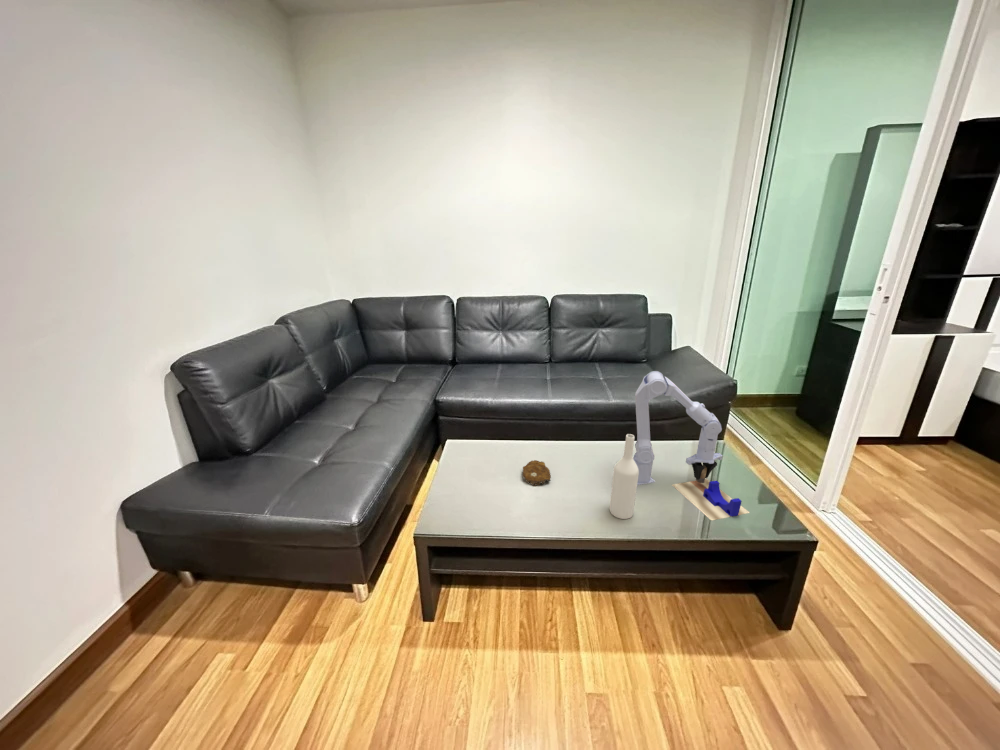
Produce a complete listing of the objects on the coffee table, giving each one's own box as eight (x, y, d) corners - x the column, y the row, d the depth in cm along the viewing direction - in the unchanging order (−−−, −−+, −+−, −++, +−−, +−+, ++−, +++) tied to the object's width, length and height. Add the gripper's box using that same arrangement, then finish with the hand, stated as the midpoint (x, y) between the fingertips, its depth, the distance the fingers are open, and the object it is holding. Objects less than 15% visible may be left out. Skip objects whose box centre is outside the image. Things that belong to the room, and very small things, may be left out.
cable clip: (703, 495, 146) (705, 482, 144) (713, 494, 146) (716, 480, 144) (726, 517, 135) (730, 502, 133) (738, 515, 135) (741, 500, 133)
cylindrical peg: (699, 483, 149) (702, 470, 147) (694, 479, 152) (696, 465, 150) (706, 482, 150) (708, 468, 148) (700, 477, 153) (703, 464, 151)
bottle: (621, 501, 143) (630, 428, 133) (638, 514, 136) (648, 438, 126) (604, 508, 140) (612, 433, 130) (620, 522, 133) (630, 444, 123)
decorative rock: (520, 466, 166) (524, 489, 152) (519, 458, 165) (524, 480, 151) (546, 464, 167) (553, 486, 153) (546, 456, 165) (553, 477, 151)
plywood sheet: (711, 521, 133) (711, 520, 133) (671, 485, 152) (671, 484, 152) (749, 513, 137) (750, 512, 137) (706, 479, 156) (706, 478, 156)
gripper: (697, 454, 141) (691, 486, 145) (731, 449, 144) (724, 480, 149) (684, 444, 147) (679, 475, 152) (716, 440, 150) (710, 470, 155)
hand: (700, 477), depth 151 cm, fingers closed on cylindrical peg, 3 cm apart
